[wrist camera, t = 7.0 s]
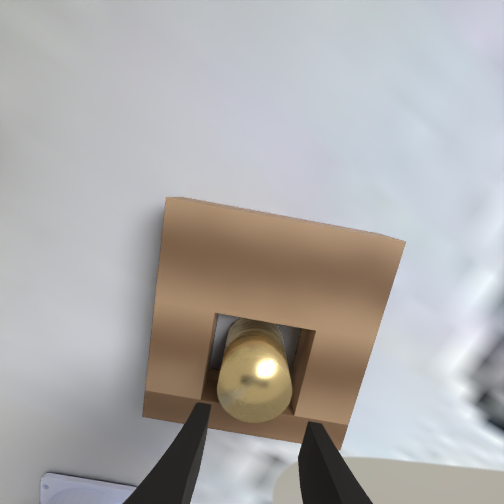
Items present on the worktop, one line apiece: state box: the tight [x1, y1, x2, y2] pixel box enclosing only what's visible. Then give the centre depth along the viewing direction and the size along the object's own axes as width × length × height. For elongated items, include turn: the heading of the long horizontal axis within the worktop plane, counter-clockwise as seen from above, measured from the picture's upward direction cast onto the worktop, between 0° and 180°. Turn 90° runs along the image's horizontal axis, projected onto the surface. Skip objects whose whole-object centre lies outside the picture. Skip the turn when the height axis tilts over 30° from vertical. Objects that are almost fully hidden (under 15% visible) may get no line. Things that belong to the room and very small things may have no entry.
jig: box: [142, 197, 406, 450], centre depth 17 cm, size 14×13×3 cm
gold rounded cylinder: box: [217, 317, 292, 423], centre depth 16 cm, size 4×4×5 cm
